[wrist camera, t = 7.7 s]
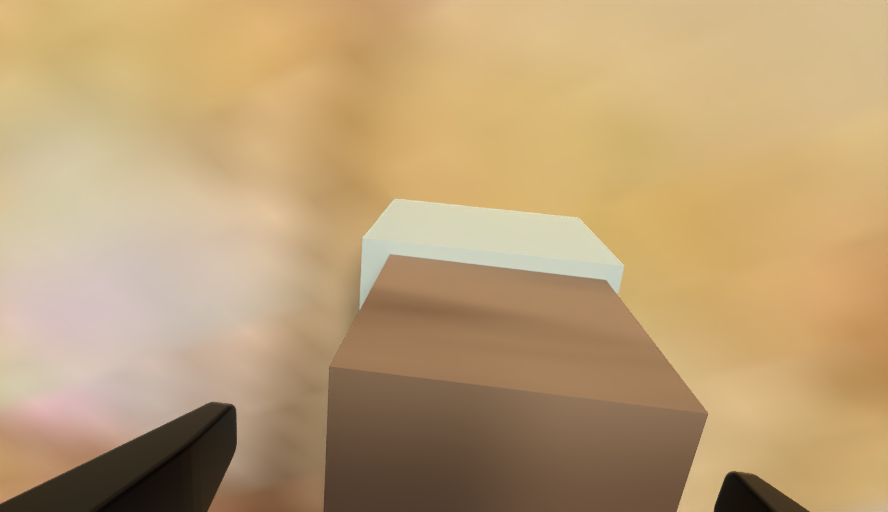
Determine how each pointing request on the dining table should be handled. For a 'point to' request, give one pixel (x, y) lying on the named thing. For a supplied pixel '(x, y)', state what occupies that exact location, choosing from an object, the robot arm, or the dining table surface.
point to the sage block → (486, 241)
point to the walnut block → (503, 398)
